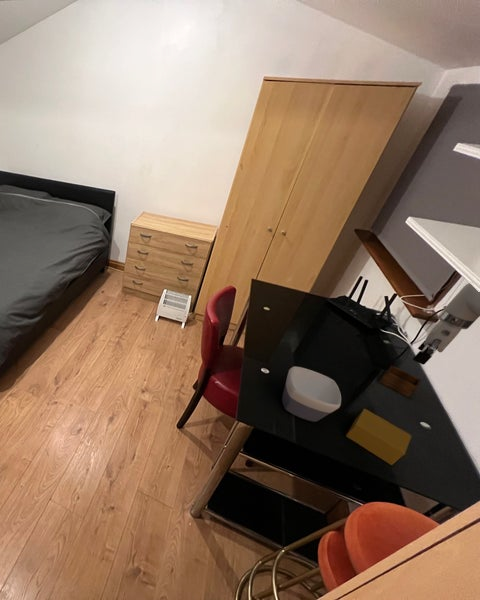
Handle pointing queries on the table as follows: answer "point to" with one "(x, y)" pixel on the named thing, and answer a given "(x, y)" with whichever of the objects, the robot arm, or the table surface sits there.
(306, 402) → the bowl
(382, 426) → the box
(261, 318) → the table surface
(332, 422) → the table surface
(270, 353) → the table surface
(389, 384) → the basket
